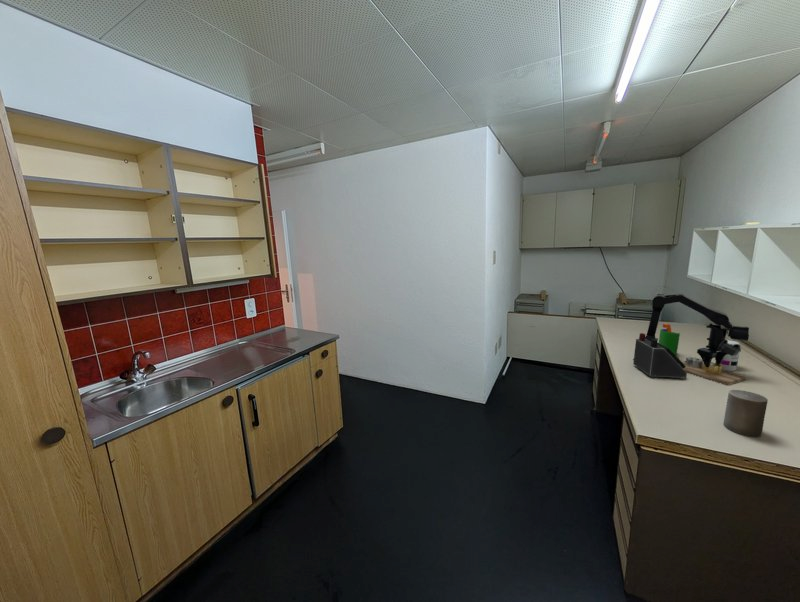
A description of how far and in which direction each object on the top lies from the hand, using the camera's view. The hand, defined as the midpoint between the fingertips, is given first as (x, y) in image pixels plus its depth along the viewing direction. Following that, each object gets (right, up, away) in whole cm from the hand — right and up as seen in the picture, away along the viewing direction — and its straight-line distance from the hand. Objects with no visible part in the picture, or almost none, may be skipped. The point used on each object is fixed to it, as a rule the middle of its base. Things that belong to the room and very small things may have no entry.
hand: (712, 365), depth 160 cm
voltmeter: (-24, -5, +5) cm, 25 cm away
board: (-1, -4, +2) cm, 5 cm away
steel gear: (-2, -2, +8) cm, 8 cm away
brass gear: (0, -3, +1) cm, 3 cm away
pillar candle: (-35, -14, -45) cm, 59 cm away
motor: (0, 0, +28) cm, 28 cm away
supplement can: (+15, -3, +8) cm, 17 cm away
